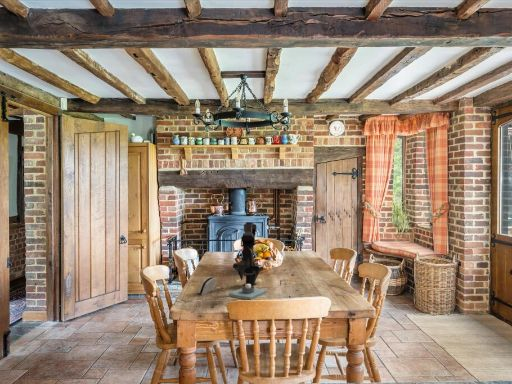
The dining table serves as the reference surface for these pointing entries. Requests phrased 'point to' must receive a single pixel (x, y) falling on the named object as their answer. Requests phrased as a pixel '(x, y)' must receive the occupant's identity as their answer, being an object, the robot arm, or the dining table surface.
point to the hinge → (207, 285)
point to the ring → (247, 290)
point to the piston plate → (247, 296)
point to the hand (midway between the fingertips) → (247, 280)
